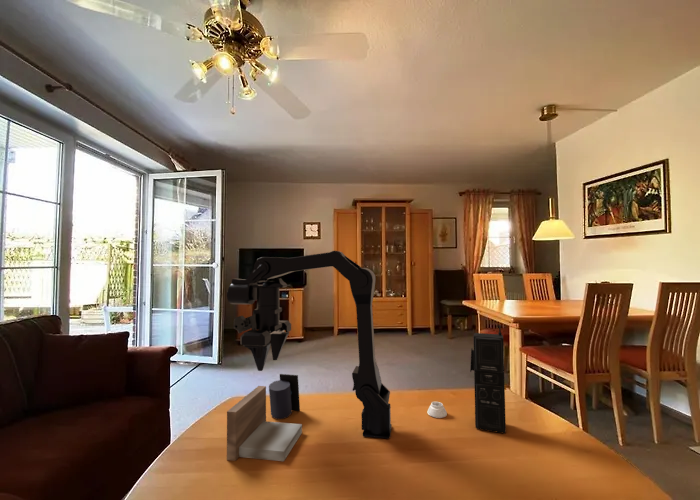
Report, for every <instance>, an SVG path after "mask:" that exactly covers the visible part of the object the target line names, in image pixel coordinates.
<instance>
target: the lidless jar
mask: <svg viewBox="0 0 700 500" xmlns="http://www.w3.org/2000/svg"><path fill="white" fill-rule="evenodd" d="M427 414H428V415H429V416H430V417H432V418H434V419H436V418H437V419H441V418H446V417H447V414H448V413H447V410H446V408H445V406H444V404H443V402H439V401H431V404H430V405H429V407H428V409H427Z"/></svg>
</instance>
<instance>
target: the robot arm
mask: <svg viewBox="0 0 700 500" xmlns="http://www.w3.org/2000/svg"><path fill="white" fill-rule="evenodd" d="M332 267H333V268H334V269H335V270H337V271H338V273H339V274H340V275H342V276H343V277H344V278H345V279H346V280H347V281H349V286H350V287H349V288H350V290H351V295H352V298H353V301H354V303H355V306H356V307H355V309H356V311H355V312H356V327H357V342H358V361H359V362H358V363H359V364H358V366H357V365H356V366H355V367H354V369H353V370H352V373H351V377H352V382H353V387H352V391H353V392H354V391H355V397H356V398H357V399H358V400H359V401H360V402H362V405H363V408H362V411H361V414H360V415H361V430H362V437H367V438H376V439H390V438H391V436H392V435H391V433H392V425H393V424H392V422H391V403H389V402H390V397H391V396H390V395H391V391H390V390H389V389H388V388H387V387H386V386H385V385H384V384H383V383H382V378H381V374H380V373H381V372H380V369H379V367H378V364H377V360H376V351H375V349H376V348H375V346H376V345H375V333H374V332H375V331H374V329H375V328H374V317H373V313H374V312H373V300H374V296H375V295H374V294H375V287H376V286H375V285H376V278H377V277H376V275H375V273H374V272H373V270H371V269H369V268H367V267H361V266H360V265H359V264H358V263H356V262H355V261H354V260H352V259H351V258H349V257H348V256H346V255H345V253H344V252H343V251H340V250H332V251H330V252H329V251H328V252H321V253H313V254H309V255H300V256H299V255H298V256H294V257H279V256H278V257H277V256H275V257H274V256H271V257H270V256H261V257H259V258H257V259H256V261H255V262H254V264H253V268H252V270H251V271H250V273H249V275H248V276H247V277H246V279H242V278H232V279H231V284H230V285H229V287H228V289H227V291H226V300H227V301H228V303H229V304H230V305H253V304H254V303H255V302H256V308H255V309H253V311H252V315H251V316H248V317H245V316H244V315H239V316H236V317H235V318H234V320H233V326H232V328H233V329H234V330H236V331H237V332H238V334H241V333H242V334H241V335H240V342H239V343H240V345H241V346H243V347H244V348H247V349H249V351H250V353H251V354H252V357H253V359H254V363H255V367H256V369H257V371H259V372H263V370H264V368H265V364H266V361H267V357H268V355H269V351H270V348H271V354H272V355H271V357H272V360H273V361H278V359H279V356H280V355H281V352H282V350H283V347H284V346H285V343H286V341H287V338H288V337H289V334H290V332H291V331H292V323H291V322H290V321H289V320H280V313H281V312H283V307H280V289H282V288H287V287H288V284H287V283H286V282H285V281H284V280H283V279H282V278H281V277H282V276H285V275H288V274H291V273H294V272H300V271H307V270H314V269H322V268H332ZM279 277H280V278H279ZM275 278H276V280H270V279H275ZM258 283H262V284H258ZM243 332H244V333H243Z"/></svg>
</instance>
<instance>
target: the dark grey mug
mask: <svg viewBox="0 0 700 500" xmlns="http://www.w3.org/2000/svg"><path fill="white" fill-rule="evenodd" d="M299 387H300V386H299V375H298V374H287V373H279V379H278V380H274V381H272V382H271V383H270V384H268V395H269V406H270V407H269V408H270V416H271V418H273V419H276V420H282V419H287V418H288V417H289V416H290V415H292V413H293V412H294V411H295V412H300V411H301V403H300V389H299Z"/></svg>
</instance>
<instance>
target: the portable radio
mask: <svg viewBox="0 0 700 500" xmlns="http://www.w3.org/2000/svg"><path fill="white" fill-rule="evenodd" d="M501 327H502V326H501V325H498V334H497V333H482V332H481V333H480V332H475V333H473V337H472V338H473V348H471V350H470V351H471V352H470V370H469V371H470V373H472V371H473V372H474V374H473V375H474V376H473V378H474V379H473V381H474V382H473V383H474V413H475V414H474V424H475V425H474V426H475V427H474V428H476V430H481V429H483V430H482V431H487V430H489V432H493V431H497V432H496V433H499V432H503V433H502V434H506V433H505V432H507V430H506V429H507V427H506V426H507V425H506V423H507V421H506V389H505V348H504V344H505V343H504V335H503V334H502V332H501V330H502V329H501Z"/></svg>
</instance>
